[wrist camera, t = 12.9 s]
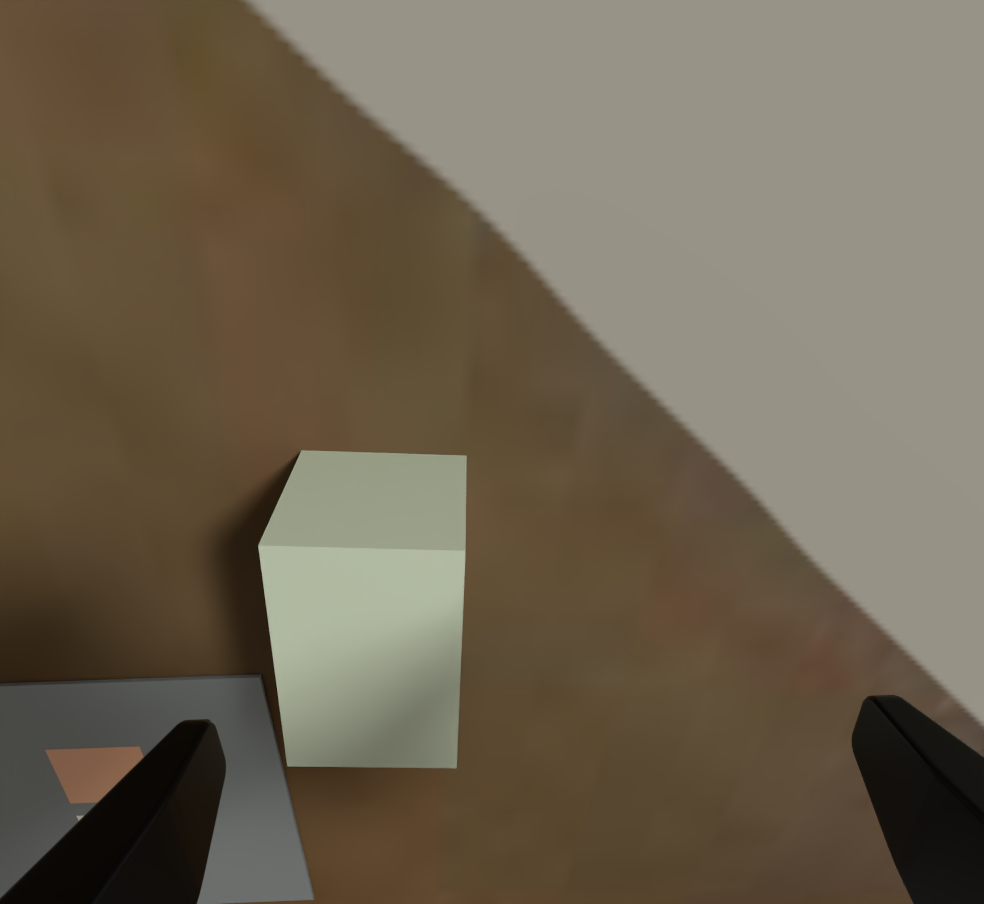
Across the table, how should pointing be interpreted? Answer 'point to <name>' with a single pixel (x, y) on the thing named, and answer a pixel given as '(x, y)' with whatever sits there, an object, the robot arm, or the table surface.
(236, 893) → the tile
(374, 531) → the sage block
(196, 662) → the table surface
